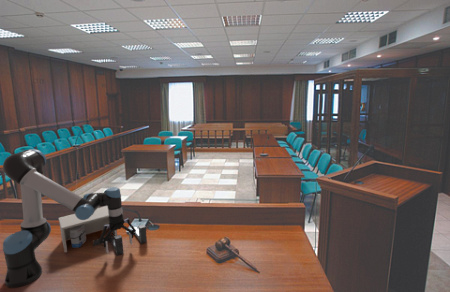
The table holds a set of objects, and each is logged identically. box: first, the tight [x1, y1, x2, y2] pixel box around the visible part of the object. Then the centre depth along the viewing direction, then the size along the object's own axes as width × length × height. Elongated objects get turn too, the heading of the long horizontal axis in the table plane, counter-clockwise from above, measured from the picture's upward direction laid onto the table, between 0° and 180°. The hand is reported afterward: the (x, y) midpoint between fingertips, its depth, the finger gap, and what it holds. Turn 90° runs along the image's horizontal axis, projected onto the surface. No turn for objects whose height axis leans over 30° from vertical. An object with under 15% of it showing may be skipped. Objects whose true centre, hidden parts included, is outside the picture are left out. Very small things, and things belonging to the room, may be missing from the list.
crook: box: [92, 234, 125, 257], centre depth 156 cm, size 22×12×11 cm, turn 37°
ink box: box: [70, 224, 87, 248], centre depth 163 cm, size 8×5×12 cm, turn 179°
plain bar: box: [133, 224, 148, 245], centre depth 170 cm, size 20×4×11 cm, turn 37°
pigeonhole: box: [58, 206, 118, 253], centre depth 168 cm, size 17×30×16 cm, turn 127°
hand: (119, 247), depth 152 cm, fingers open, 13 cm apart
